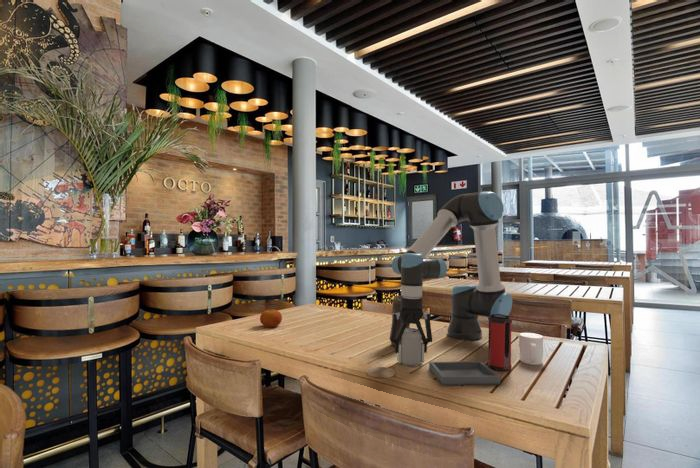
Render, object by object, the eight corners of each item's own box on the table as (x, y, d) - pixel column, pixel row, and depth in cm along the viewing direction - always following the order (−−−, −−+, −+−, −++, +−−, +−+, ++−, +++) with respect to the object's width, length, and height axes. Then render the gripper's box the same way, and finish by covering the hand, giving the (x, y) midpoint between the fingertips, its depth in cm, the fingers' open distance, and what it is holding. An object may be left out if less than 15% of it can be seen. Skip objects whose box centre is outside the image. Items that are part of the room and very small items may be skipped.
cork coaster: (391, 368, 128) (391, 366, 128) (397, 378, 119) (397, 376, 119) (365, 368, 127) (365, 366, 127) (369, 378, 118) (369, 376, 118)
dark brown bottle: (411, 344, 157) (412, 296, 157) (406, 349, 150) (407, 299, 150) (394, 342, 160) (395, 295, 160) (388, 346, 153) (389, 297, 154)
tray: (480, 368, 129) (480, 361, 129) (500, 385, 115) (500, 376, 115) (429, 369, 128) (429, 361, 128) (442, 385, 114) (442, 377, 114)
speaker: (499, 372, 125) (500, 318, 125) (482, 365, 132) (483, 314, 133) (516, 370, 128) (517, 317, 129) (499, 362, 135) (499, 312, 136)
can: (421, 368, 129) (421, 332, 129) (399, 366, 130) (399, 331, 130) (421, 361, 136) (421, 327, 136) (400, 359, 138) (401, 326, 138)
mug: (517, 331, 145) (541, 333, 142) (517, 355, 144) (540, 358, 142) (521, 339, 133) (546, 341, 131) (521, 365, 133) (546, 368, 131)
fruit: (279, 329, 178) (279, 312, 178) (257, 329, 178) (257, 312, 179) (283, 324, 189) (283, 308, 189) (263, 323, 189) (263, 307, 189)
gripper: (436, 295, 138) (435, 358, 138) (381, 295, 136) (380, 358, 136) (443, 298, 130) (442, 365, 130) (384, 298, 129) (383, 365, 129)
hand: (410, 361), depth 133 cm, fingers closed on can, 7 cm apart
